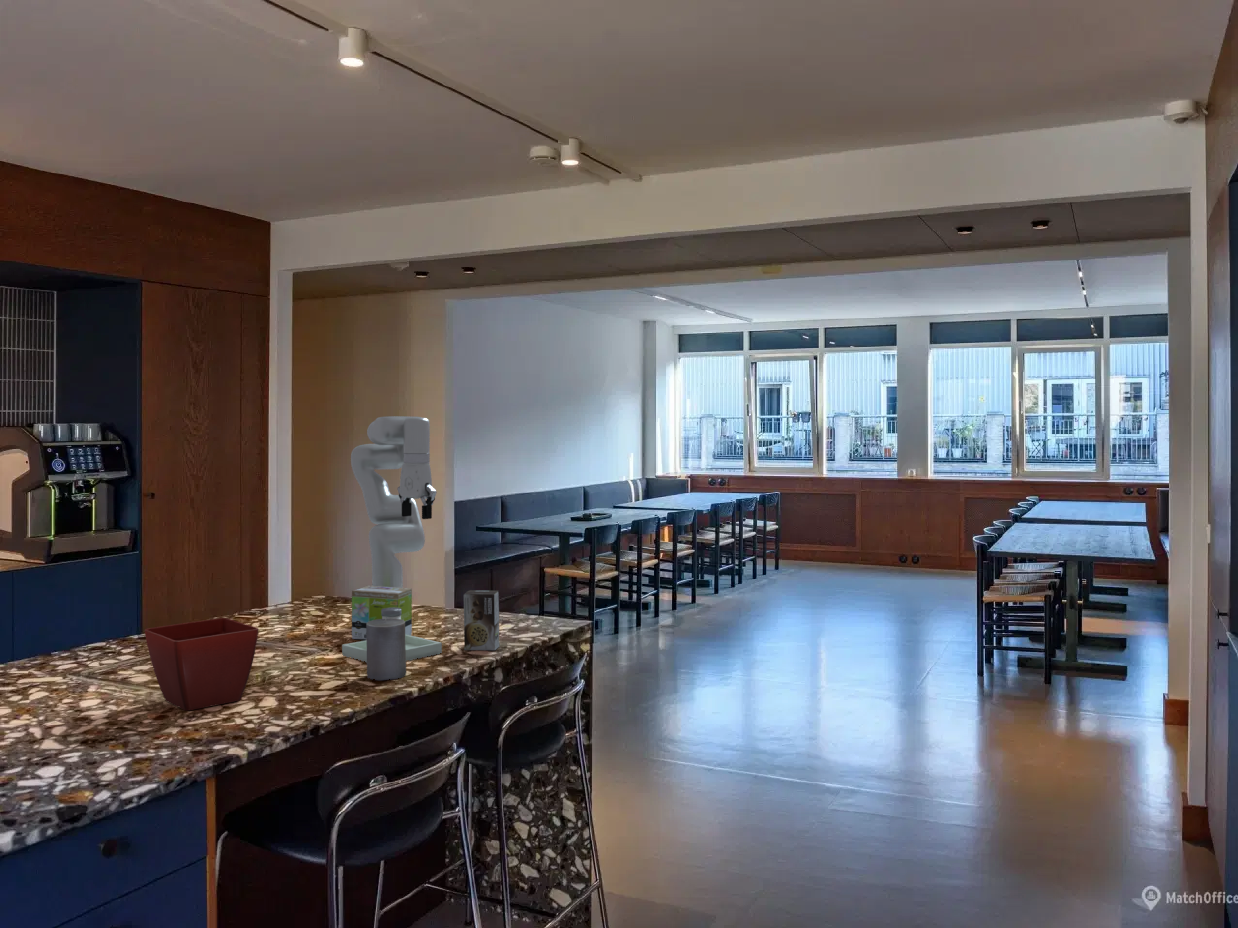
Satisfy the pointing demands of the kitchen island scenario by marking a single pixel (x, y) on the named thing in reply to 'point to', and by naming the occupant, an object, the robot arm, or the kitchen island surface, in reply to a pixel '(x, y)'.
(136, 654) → the kitchen island surface
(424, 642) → the tray
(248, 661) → the plant pot
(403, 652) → the pillar candle
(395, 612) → the shaker
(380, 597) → the tea box
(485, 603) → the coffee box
